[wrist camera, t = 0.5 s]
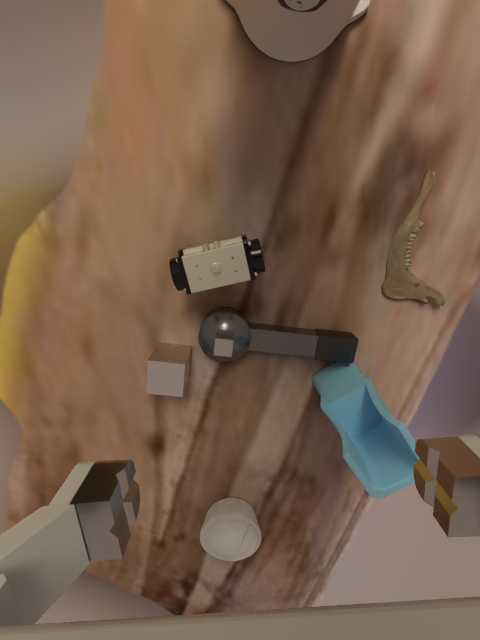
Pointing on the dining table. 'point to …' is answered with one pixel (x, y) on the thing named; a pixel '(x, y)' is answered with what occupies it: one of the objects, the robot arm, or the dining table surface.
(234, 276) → the pneumatic valve
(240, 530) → the ramekin
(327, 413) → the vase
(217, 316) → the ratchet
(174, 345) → the beige rectangular block
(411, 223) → the jawbone
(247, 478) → the dining table surface
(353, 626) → the robot arm
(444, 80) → the dining table surface
